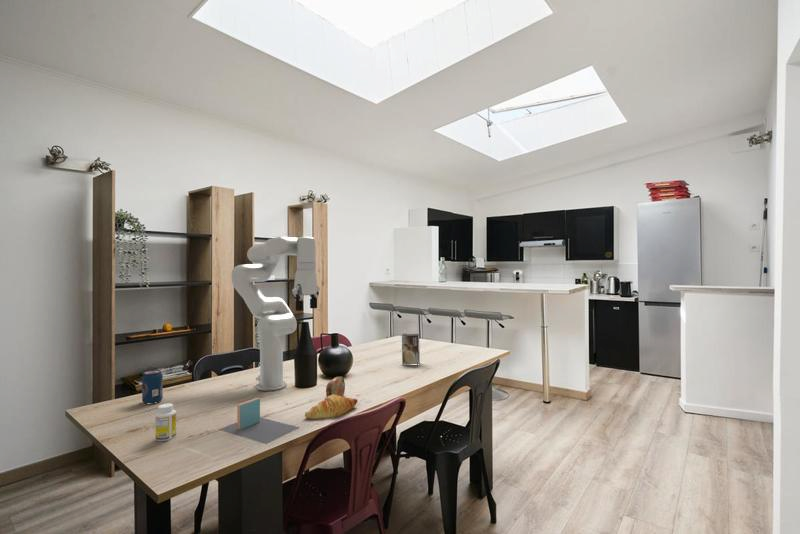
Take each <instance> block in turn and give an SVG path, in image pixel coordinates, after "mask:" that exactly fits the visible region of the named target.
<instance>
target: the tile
mask: <svg viewBox="0 0 800 534" xmlns="http://www.w3.org/2000/svg"><path fill="white" fill-rule="evenodd" d="M236 408H237V410H236V420H237V429H238V430H241V429H244V428H246V427H249V426H251V425H253V424H256V423H258V422H260V417H261V398H260V397H255V398H253V399H250V400H246V401H243V402H240V403H239V404H236Z"/></svg>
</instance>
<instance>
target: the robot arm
mask: <svg viewBox="0 0 800 534" xmlns="http://www.w3.org/2000/svg"><path fill="white" fill-rule="evenodd" d="M316 246H317V245H316V239H315V238H314V237H313V236H299V237H294V236H293V237H291V236H276V237H273V238H269V239H267V240H266V242H264V243H260V244H255V245H253V246H251V247H250V248H249V249H248V250H247V253H246V257H247V259H248V261H250V262H251V263H246V264H245V263H244V264H237V266H234V267H233V268H232V270H231V277H230V278H231V281H232V282H231V283H232V285H233V288H234V289H235V291H236V292H237V293H238V294H239V296H240V297H241V298H242V299H243V300H244V302H245V304H246V306H247V308H248V309H249V311H250V312H251V314H252V316H253V317H254V318H256V319H259V320H258V322H257V332H258V338H259V366H260V368H259V370H260V371H259V374H258V376H257V377H256V378H255V380H256V381H258V384H257V385H256V389H257V390H258V391H262V392H263V391H264V392H270V391H272V392H273V391H278V390H282V389H284V388H286V387H287V385H288V384H287V381H284V372H283V371H284V369H283V368H284V367H283V366H284V365H283V364H284V363H283V361H284V358H283V355H284V354H283V351H284V348H283V344H282V342H281V339H280V338H279V337H280V336H285V335H286V336H287V335H290V334H293V333H294V332H295V331H296V330H297V328H298V327H297V326H298V323H297V322H298V321H297V319H296V317H295V315H294V314H293V312H292V309H290V307H289V306H288V304H287V302H286V301H285V300H284V299H283V298H282V297H279V296H266V295H264V293H263V291H262V290H261V289H260V288H259V287H258V286H257V285H255V284H254V283H263V282H267V281H268V280H270V278H271V277H272V275H273V273H274V271H275V269H276V267H277V265H278V263H279V261H280V259H281V256H296V271H295V274H294V285H293V288H292V289H291V290H292V291H291V292H292V294H293V298H294V301H295V311H299V312H303V311H304V300H303V298H305V296H309V297H310V299H309V308H310V309H318V298H319V295H320V294H319V293H320V291H321V289H320V286H318V279H317V271H316V270H317V263H316V262H317V260H316V258H317V254H316V251H317V250H316Z"/></svg>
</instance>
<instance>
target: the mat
mask: <svg viewBox="0 0 800 534" xmlns="http://www.w3.org/2000/svg"><path fill="white" fill-rule="evenodd" d="M298 429H301V428H300V427H299V426H296V425H292V424H288V423H284V422H280V421H277V420H274V419H269V418H265V417H261V416H260V422H258V423H256V424H253V425H251V426H249V427H246V428H244V429H241V430H238V429H237V422H235V423H232V424H229V425H227V426H225V427H221V428H219V431H223V432H226V433H229V434H232V435H235V436H239V437H243V438H245V439H249V440H252V441H255V442H259V443H261V444H265V445H267V444H269V443H271V442H273V441H276V440H278V439H279V438H282V437H283V436H286V435H287V434H290V433H292V432H294V431H296V430H298Z"/></svg>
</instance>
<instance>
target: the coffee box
mask: <svg viewBox="0 0 800 534" xmlns="http://www.w3.org/2000/svg"><path fill="white" fill-rule="evenodd" d="M420 353H421V352H420V333H402V335H401V359H402V361H401V362H402V364H417V365H418V364H419V363H420V364H421V358H420ZM402 364H401V365H402ZM420 364H419V365H420ZM417 365H416V366H417Z"/></svg>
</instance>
